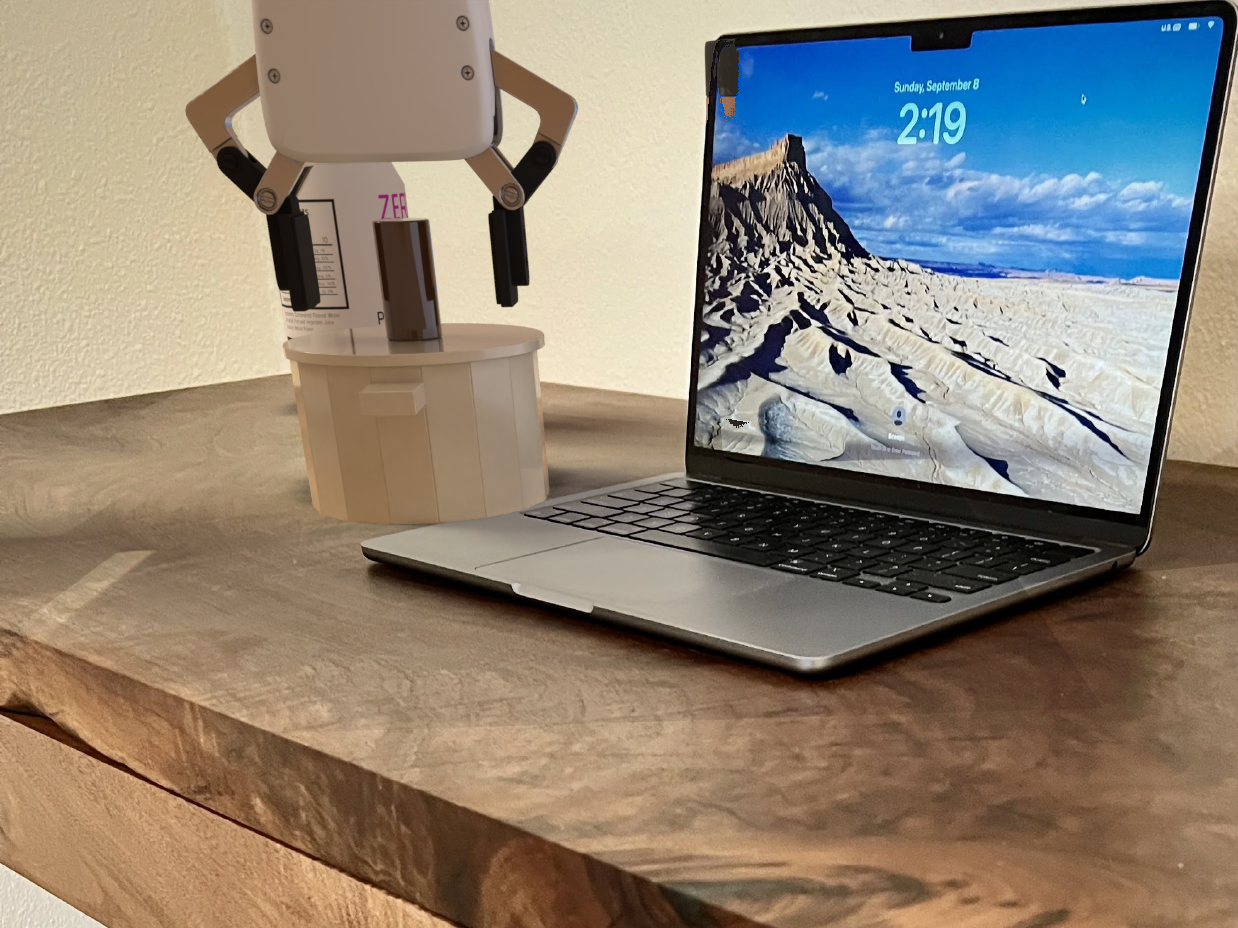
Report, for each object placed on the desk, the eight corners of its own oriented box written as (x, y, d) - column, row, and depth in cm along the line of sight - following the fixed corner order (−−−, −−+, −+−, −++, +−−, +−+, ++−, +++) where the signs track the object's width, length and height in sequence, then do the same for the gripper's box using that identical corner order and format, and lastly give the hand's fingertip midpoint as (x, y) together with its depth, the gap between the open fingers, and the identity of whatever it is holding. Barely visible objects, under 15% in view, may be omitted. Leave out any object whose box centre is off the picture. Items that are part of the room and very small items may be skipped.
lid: (258, 384, 71) (232, 230, 68) (316, 349, 82) (295, 214, 79) (534, 377, 72) (520, 224, 69) (556, 343, 82) (545, 209, 79)
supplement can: (298, 420, 105) (255, 157, 97) (426, 412, 107) (394, 153, 99) (304, 440, 98) (259, 159, 91) (441, 431, 100) (407, 155, 93)
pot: (280, 552, 73) (250, 377, 69) (351, 479, 87) (329, 331, 84) (532, 545, 73) (516, 370, 69) (561, 473, 88) (549, 326, 84)
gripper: (568, -138, 70) (597, 295, 79) (168, -133, 70) (242, 302, 79) (553, -163, 64) (587, 311, 73) (113, -158, 63) (200, 319, 72)
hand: (407, 305), depth 76 cm, fingers open, 9 cm apart
